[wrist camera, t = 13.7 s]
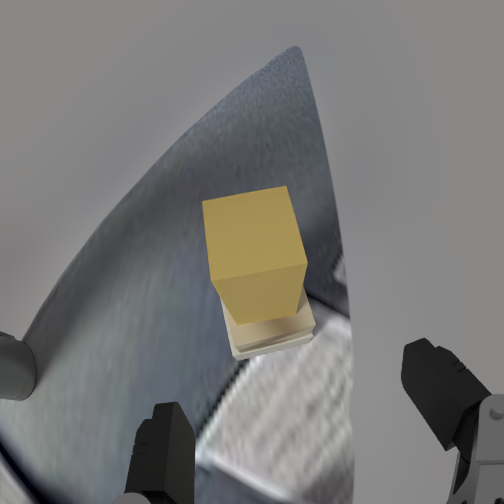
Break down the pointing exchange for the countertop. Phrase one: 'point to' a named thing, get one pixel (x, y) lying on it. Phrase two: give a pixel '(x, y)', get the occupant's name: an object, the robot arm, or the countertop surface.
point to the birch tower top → (273, 328)
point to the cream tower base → (264, 350)
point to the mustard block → (255, 254)
